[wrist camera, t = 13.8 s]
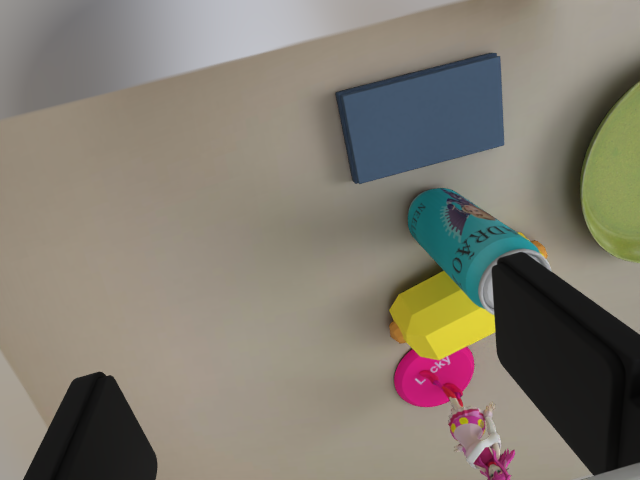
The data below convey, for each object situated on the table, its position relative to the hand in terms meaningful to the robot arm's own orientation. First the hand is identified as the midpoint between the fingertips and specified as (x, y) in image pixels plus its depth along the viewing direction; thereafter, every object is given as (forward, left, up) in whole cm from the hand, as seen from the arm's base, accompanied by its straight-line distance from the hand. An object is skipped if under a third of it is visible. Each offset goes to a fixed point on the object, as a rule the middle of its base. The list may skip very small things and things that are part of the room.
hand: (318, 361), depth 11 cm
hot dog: (+20, +16, -31) cm, 40 cm away
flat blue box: (+2, +14, -30) cm, 33 cm away
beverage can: (+11, +14, -31) cm, 35 cm away
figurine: (+31, +12, -31) cm, 45 cm away
